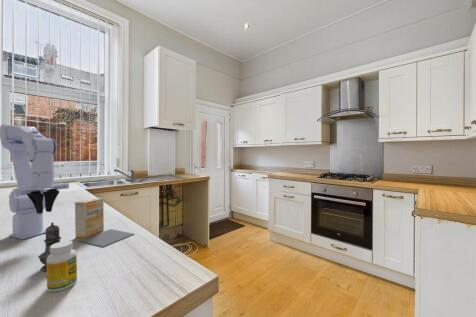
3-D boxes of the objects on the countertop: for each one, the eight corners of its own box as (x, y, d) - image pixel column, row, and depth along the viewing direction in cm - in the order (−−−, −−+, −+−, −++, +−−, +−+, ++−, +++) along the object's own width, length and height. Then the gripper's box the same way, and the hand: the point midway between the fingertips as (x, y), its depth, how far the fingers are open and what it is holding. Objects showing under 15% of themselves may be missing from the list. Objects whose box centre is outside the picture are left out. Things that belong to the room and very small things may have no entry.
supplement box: (85, 238, 76) (85, 202, 76) (74, 237, 77) (74, 202, 77) (104, 230, 84) (104, 197, 84) (94, 229, 85) (93, 197, 85)
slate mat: (78, 241, 74) (78, 240, 74) (110, 229, 85) (110, 229, 85) (103, 247, 69) (103, 246, 69) (134, 234, 80) (134, 233, 80)
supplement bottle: (53, 281, 51) (52, 241, 50) (80, 276, 52) (79, 238, 52) (41, 295, 45) (40, 250, 45) (72, 289, 47) (71, 247, 47)
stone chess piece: (43, 274, 53) (41, 227, 53) (35, 268, 56) (33, 223, 56) (71, 264, 58) (70, 221, 58) (62, 259, 61) (61, 217, 61)
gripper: (20, 174, 65) (22, 219, 65) (73, 171, 78) (74, 208, 78) (9, 174, 67) (10, 217, 67) (62, 171, 81) (63, 207, 81)
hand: (44, 212), depth 73 cm, fingers closed
